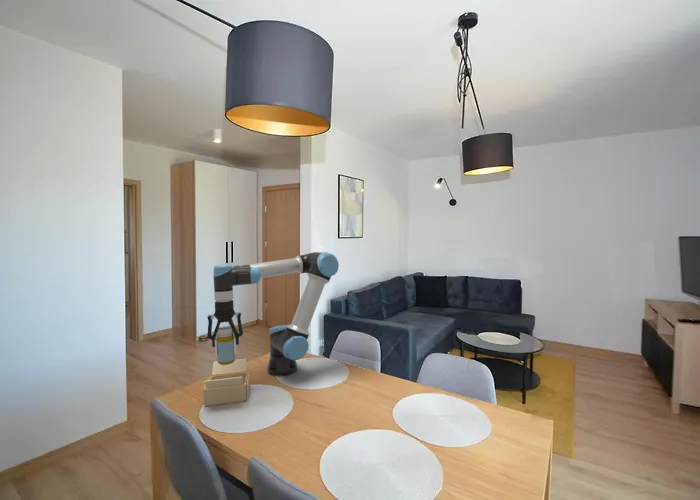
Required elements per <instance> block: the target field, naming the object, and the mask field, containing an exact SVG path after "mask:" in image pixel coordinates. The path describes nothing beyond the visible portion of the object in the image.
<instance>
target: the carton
mask: <svg viewBox="0 0 700 500" xmlns="http://www.w3.org/2000/svg"><path fill="white" fill-rule="evenodd" d="M233 377H242V378H243V384H242V385H234V386H226V387H218V388H209V389H207V388H206V385H205V384H204V386H203V387H204V388H203V390H202V392H203V405H205V408H207V407H214V406H215V405H216V406H222V405H223V404H224V405H229V404H230V405H231V404H240V403H245V402H246V403H247V400H248V399H249V395H250V388H251V386H250V372H248V371H246V372H238V373H229V374H220V375H212V376H210V377H208V378H207V380H216V379H225V378H233Z"/></svg>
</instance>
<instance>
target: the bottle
mask: <svg viewBox="0 0 700 500" xmlns="http://www.w3.org/2000/svg"><path fill="white" fill-rule="evenodd" d="M234 337H235V335H234V333H233V330H232V328H231V326H229V325H225V326H221V327H220V326H219V329H218V332H217V337H216V338H217V355H216V356H217V361H218V363H219V364H220V365H228V364H231V363H233V362H234V361H235V359H236V353H234Z"/></svg>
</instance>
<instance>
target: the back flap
mask: <svg viewBox="0 0 700 500" xmlns="http://www.w3.org/2000/svg"><path fill="white" fill-rule="evenodd" d="M212 363H213V365H212V376H220V375H229V374H238V373H247V358H246V357H245V358H235V361H234V362H233V363H231V364H228V365H220V364H219V363H218V360H216V361H213V362H212Z"/></svg>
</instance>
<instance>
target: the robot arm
mask: <svg viewBox="0 0 700 500" xmlns="http://www.w3.org/2000/svg"><path fill="white" fill-rule="evenodd" d="M339 266H340V265H339V261H338V258H337V256H335V255H334V254H333V253H329V252H318V251H317V252H309V253H306V254H301V255H296V256H295V257H293V258H286V259H280V260H273V261H264V262H258V263H251V264H244V265H243V264H242V265H234V266H233V265H232V264H230V263H228V264H226V263H225V264H216V265H214V266H213V290H214V291H213V293H214V313H212V314H208V315H207V317H206V318H207V322H208V325H207V333H206V334H207V337H206V338H207V339H208V340H209V339H210V340H211V344H212V345H211V347H212V348H214V354H215V356H218V355H217V338H218V337H217V336H218V329H219V328H220V326H221V324H223V323H228V325H230V326H231V328H232V330H233V336H234V353H235V354H237V351H238V350H237V348H238V347H237V346H239V344H240V337H242V336H243V333H244V331H243V324H242V319H241V316H242V312H241V311H240V312H235V310H234V286H245V285H255V284H258V283H259V282H260V281H261V279H264V278H270V277H275V276H282V275H283V276H284V275H288V274H295V273H297V274H307V276H308V279H307V283H306V285H305V286H304V287H305V288H304V290H303V293H302V295H301V298H300V301H299V302H298V306H297V308H296V310H295V313H294V315H293V319H292V321H291V323H290V324H282V325H276V326H271V327H270V328H269V333H268V335H269V349H270V351H269V353H270V354H269V355H270V357H269V361H268V364H267V368H266V369H267V374H269V375H271V376H274V377H275V376H276V377H281V376H282V377H283V376H288V375H292V374H294V373H295V372H297V370H298V364H297V360H300V359H302V358H303V357H304V356H306V355H307V353H308V350H309V341H308V339H309V336H310V333H309V327H310V325H311V322H312V320H313V317H314V315H315V312H316V309H317V306H318V304H319V301H320V299H321V296H322V293H323V290H324V288H325V285H326V284H328V283H330V281H331V278H332V277H333V276H335V275H336V274H337V273H338V270H339ZM234 316H235V318H236V319H237V326H238V330H237V327H236V325H235V323H234V320H233V318H234ZM214 319H216V320H217V321H216V325H215V328H214V331H212V330H213V320H214ZM212 332H213V334H212Z"/></svg>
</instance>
